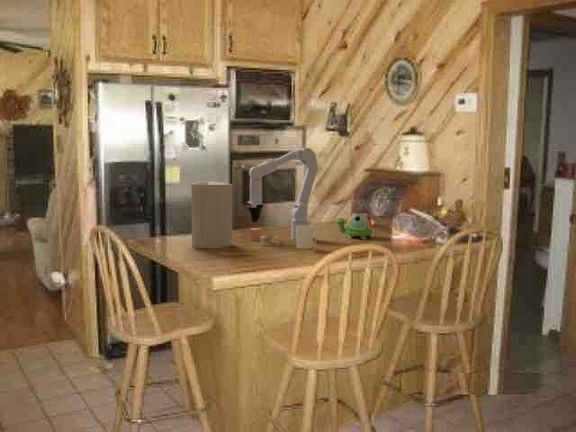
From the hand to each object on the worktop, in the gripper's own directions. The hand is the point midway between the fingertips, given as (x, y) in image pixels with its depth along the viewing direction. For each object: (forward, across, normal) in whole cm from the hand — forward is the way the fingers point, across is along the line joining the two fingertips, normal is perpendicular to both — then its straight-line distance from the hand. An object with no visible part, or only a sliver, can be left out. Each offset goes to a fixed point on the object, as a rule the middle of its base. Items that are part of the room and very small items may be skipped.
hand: (255, 221), depth 281 cm
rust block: (+9, 0, 0) cm, 9 cm away
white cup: (+10, +17, +24) cm, 31 cm away
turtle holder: (+10, -17, +48) cm, 52 cm away
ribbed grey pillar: (+10, +15, -20) cm, 27 cm away
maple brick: (+9, +12, +8) cm, 17 cm away
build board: (+9, +6, +6) cm, 13 cm away
